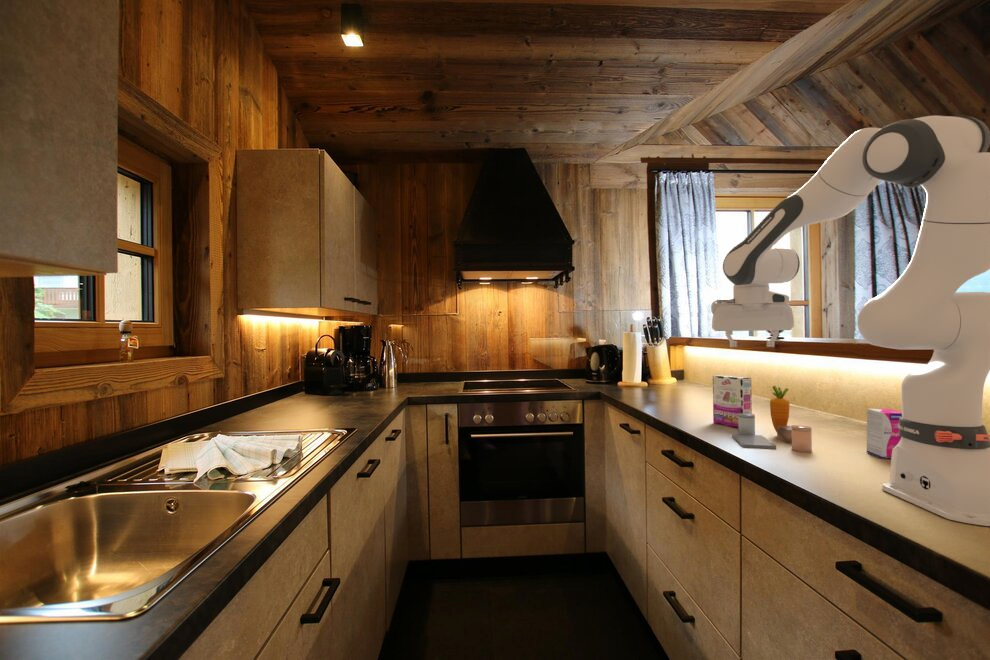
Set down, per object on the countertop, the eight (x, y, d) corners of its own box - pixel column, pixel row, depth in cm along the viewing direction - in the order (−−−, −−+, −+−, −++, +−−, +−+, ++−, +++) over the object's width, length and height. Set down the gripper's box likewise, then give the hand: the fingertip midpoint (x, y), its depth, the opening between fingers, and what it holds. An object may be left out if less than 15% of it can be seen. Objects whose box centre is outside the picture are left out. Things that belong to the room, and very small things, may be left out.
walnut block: (806, 443, 127) (806, 429, 127) (788, 444, 126) (788, 429, 126) (794, 439, 132) (793, 425, 132) (777, 439, 131) (777, 425, 131)
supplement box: (882, 459, 111) (882, 412, 111) (865, 452, 116) (865, 408, 116) (908, 459, 110) (908, 412, 110) (890, 453, 116) (889, 408, 116)
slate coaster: (776, 448, 121) (776, 445, 121) (743, 447, 123) (743, 444, 123) (761, 438, 133) (761, 435, 133) (732, 436, 135) (731, 434, 135)
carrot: (793, 436, 134) (793, 386, 134) (782, 438, 132) (781, 387, 132) (777, 433, 138) (777, 384, 138) (766, 434, 137) (765, 385, 136)
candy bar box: (753, 427, 146) (752, 377, 146) (742, 429, 144) (741, 378, 144) (722, 421, 156) (722, 374, 156) (712, 423, 154) (711, 375, 154)
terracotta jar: (814, 452, 117) (814, 429, 117) (795, 452, 118) (795, 428, 118) (807, 448, 121) (807, 425, 121) (789, 447, 122) (788, 424, 122)
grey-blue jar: (757, 436, 135) (756, 416, 135) (740, 436, 136) (740, 415, 136) (752, 433, 139) (752, 413, 139) (736, 432, 140) (736, 412, 140)
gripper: (713, 298, 127) (714, 347, 127) (795, 296, 122) (796, 347, 122) (708, 300, 134) (709, 346, 134) (787, 297, 128) (787, 346, 128)
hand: (751, 347), depth 128 cm, fingers open, 8 cm apart
